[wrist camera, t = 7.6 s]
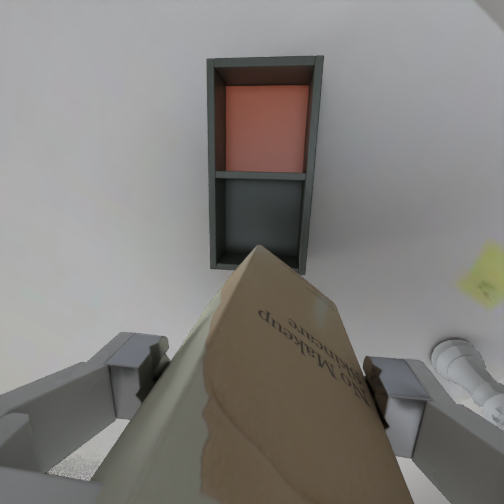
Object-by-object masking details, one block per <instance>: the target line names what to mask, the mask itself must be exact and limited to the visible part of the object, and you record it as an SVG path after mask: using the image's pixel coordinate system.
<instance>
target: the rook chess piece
mask: <svg viewBox="0 0 504 504" xmlns="http://www.w3.org/2000/svg"><path fill="white" fill-rule="evenodd" d="M431 363H432V364H433V366H434V368H435V369H436V370H437V371H439V373H440V374H441V375H442V376H443V377H445V378H446V379H447V380H449V381H452V382H454V383H456V384H459V385H461V386H462V387H463V388H464V389H465V390H466V391H467V392H469V393H470V395H471V396H472V399H473V401H474V402H475V403H476V404H477V405H478V406H480V407H482V414H483V416H484V418H485V419H486V420H488V421H489V422H491V423H492V424H495V425H497V426H498V427H500V428H501V429H502V430H503V431H504V385H502V384H501V383H497V382H496V381H495V380H494V378H493V377H492V376H491V375H490V374H489V372H488V371H487V370H486V366H485V364H484V360H483V358H482V356H481V354H480V352H478V351H477V350H476V349H475V348H474V346H473V345H471V344H470V343H469V342H467V341H463V340H459V339H455V340H446V341H444V342H441V343H440V344H438V345H437V346H436V347H435V349H434V351H433V353H432V355H431Z"/></svg>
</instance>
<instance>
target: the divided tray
mask: <svg viewBox="0 0 504 504" xmlns="http://www.w3.org/2000/svg"><path fill="white" fill-rule="evenodd" d="M323 61H324V56H286V57H249V58H215V59H207V115H208V174H209V233H210V269H222V270H236V269H237V268H238V267H239V265H240V264H241V263H242V262H243V261H244V260H245V258H246V257H247V256H248V255H249V254H250V253H251V252H252V250H253V249H254V248H255V247H256V246H257V245H262V246H263V247H264V248H266V249H267V250H268V251H270V252H271V253H272V254H274V255H275V256H276V257H277V258H279V259H280V260H281V261H283V262H284V263H285V264H286V265H288V266H289V267H290V268H291V269H293V270H294V271H295V272H296V273H298V274H299V275H305V271H306V260H307V248H308V236H309V225H310V213H311V201H312V190H313V178H314V166H315V155H316V143H317V131H318V120H319V108H320V96H321V85H322V73H323Z"/></svg>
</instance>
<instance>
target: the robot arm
mask: <svg viewBox="0 0 504 504" xmlns="http://www.w3.org/2000/svg"><path fill="white" fill-rule="evenodd" d="M168 349H169V344H168V339H167V337H166V336H158V335H150V334H142V333H133V332H120V333H119V334H118V335H117V336H115V337H114V338H113V339H112V340H111V341H110V342H109V343H108V344H107V345H105V346H104V347H103V348H102V349H101V350H100V351H99V352H98V353H96V354H95V355H94V356H93V357H92V358H91V359H90V360H89V361H88V362H80V363H78V364H75V365H73V366H71V367H68V368H66V369H63V370H61V371H58V372H56V373H53V374H51V375H49V376H46V377H44V378H41V379H39V380H36V381H34V382H32V383H29V384H27V385H24V386H22V387H19V388H17V389H14V390H12V391H10V392H7V393H5V394H2V395H0V504H94V502H95V500H96V499H97V497H98V495H99V493H100V491H101V489H102V487H103V483H99V482H93V481H87V480H81V479H75V478H69V477H64V476H58V475H52V474H46V472H47V471H49V470H50V469H51V468H53V467H54V466H55V465H57V464H58V463H59V462H61V461H62V460H63V459H65V458H66V457H67V456H69V455H70V454H71V453H73V452H74V451H75V450H77V449H78V448H79V447H81V446H82V445H83V444H85V443H86V442H87V441H89V440H90V439H91V438H93V437H94V436H95V435H97V434H98V433H99V432H101V431H102V430H103V429H105V428H106V427H107V426H109V425H110V424H111V423H113V422H114V421H115V420H116V418H118V419H128V420H131V419H132V417H133V416H134V414H135V413H136V411H137V410H138V408H139V407H140V405H141V404H142V403H143V401H144V400H145V398H146V397H147V395H148V394H149V392H150V391H151V389H152V388H153V386H154V385H155V383H156V382H157V380H158V379H159V378H160V376H161V375H162V373H163V372H164V370H165V369H166V367H167V366H168V364H169V363H170V359H169V358H168V357H167V355H166V354H165V353H166V352H167V350H168ZM363 369H364V372H365V374H366V376H365V377H364V378H365V381H366V383H367V386H368V388H369V391H370V393H371V396H372V398H373V401H374V404H375V406H376V409H377V411H378V414H379V416H380V419H381V421H382V424H383V426H384V429H385V431H386V434H387V436H388V439H389V441H390V444H391V447H392V449H393V452H394V454H395V456H398V457H405V458H411V459H412V461H413V462H414V463H415V464H416V465H417V467H418V468H419V469H420V470H421V471H422V472H423V473H424V474H425V475H426V476H427V478H428V479H429V480H430V481H431V482H432V483H433V484H434V485H435V486H436V487H437V489H438V490H439V491H440V492H441V493H442V494H443V495H444V496H445V497H446V499H447V500H448V501H449V502H450V503H451V504H504V431H503V430H502V429H500V428H499V427H497V426H495V425H494V424H492V423H491V422H489V421H488V420H486V419H484V418H482V417H481V416H480V415H478V414H476V413H475V412H473V411H472V410H470V409H469V408H467V407H465V406H464V405H461V404H456V403H455V402H454V401H453V399H452V398H451V397H450V396H449V394H448V393H447V392H446V390H445V389H444V388H443V387H442V385H441V384H440V383H439V381H438V380H437V379H436V378H435V376H434V375H433V374H432V373H431V371H430V370H429V369H428V367H427V366H426V365H425V364H424V362H422V361H420V360H415V359H395V358H383V357H371V356H366V357H365V359H364V363H363Z"/></svg>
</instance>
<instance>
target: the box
mask: <svg viewBox="0 0 504 504" xmlns="http://www.w3.org/2000/svg"><path fill="white" fill-rule="evenodd" d="M90 481H93V482H99V483H103V487H102V489H101V491H100V493H99V495H98V497H97V499H96V500H95V502H94V504H414V502H413V500H412V498H411V495H410V492H409V490H408V488H407V485H406V483H405V480H404V477H403V475H402V472H401V470H400V467H399V465H398V462H397V460H396V457H395V454H394V452H393V449H392V447H391V444H390V441H389V439H388V436H387V434H386V431H385V429H384V426H383V424H382V421H381V419H380V416H379V414H378V411H377V409H376V406H375V404H374V401H373V398H372V396H371V393H370V391H369V388H368V386H367V383H366V381H365V378H364V375H363V373H362V370H361V368H360V365H359V363H358V361H357V358H356V356H355V353H354V351H353V348H352V346H351V343H350V341H349V338H348V335H347V333H346V330H345V328H344V325H343V323H342V320H341V318H340V315H339V313H338V310H337V307H336V305H335V304H334V303H333V302H332V301H331V300H330V299H329V298H328V297H326V296H325V295H324V294H323V293H321V292H320V291H319V290H318V289H316V288H315V287H314V286H313V285H311V284H310V283H309V282H308V281H306V280H305V279H304V278H303V277H301V276H300V275H299V274H298V273H296V272H295V271H294V270H293V269H291V268H290V267H289V266H288V265H286V264H285V263H284V262H283V261H281V260H280V259H279V258H277V257H276V256H275V255H274V254H272V253H271V252H270V251H268V250H267V249H266V248H264V247H263V246H262V245H257V246H256V247H255V248H254V249H253V250H252V252H251V253H250V254H249V255H248V256H247V257H246V258H245V260H244V261H243V262H242V263H241V264H240V265H239V267H238V268H237V269H236V270H235V271H234V273H233V274H232V275H231V276H230V277H229V278H228V280H227V281H226V282H225V283H224V285H223V286H222V287H221V288H220V290H219V291H218V292H217V294H216V295H215V296H214V297H213V299H212V300H211V301H210V303H209V305H208V306H207V308H206V309H205V311H204V312H203V314H202V315H201V316H200V318H199V319H198V321H197V322H196V324H195V325H194V327H193V328H192V330H191V331H190V333H189V335H188V336H187V338H186V339H185V341H184V342H183V344H182V345H181V347H180V348H179V350H178V351H177V353H176V354H175V356H174V357H173V359H172V360H171V361H170V363H169V364H168V366H167V367H166V369H165V370H164V372H163V373H162V375H161V376H160V378H159V379H158V380H157V382H156V383H155V385H154V386H153V388H152V389H151V391H150V392H149V394H148V395H147V397H146V398H145V400H144V401H143V403H142V404H141V405H140V407H139V408H138V410H137V411H136V413H135V414H134V416H133V417H132V419H131V420H130V422H129V423H128V425H127V426H126V428H125V429H124V431H123V432H122V434H121V435H120V437H119V438H118V440H117V441H116V443H115V444H114V446H113V447H112V449H111V450H110V452H109V453H108V455H107V456H106V458H105V459H104V461H103V462H102V464H101V465H100V466H99V468H98V469H97V471H96V472H95V474H94V475H93V477H92V478H91V480H90Z"/></svg>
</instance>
